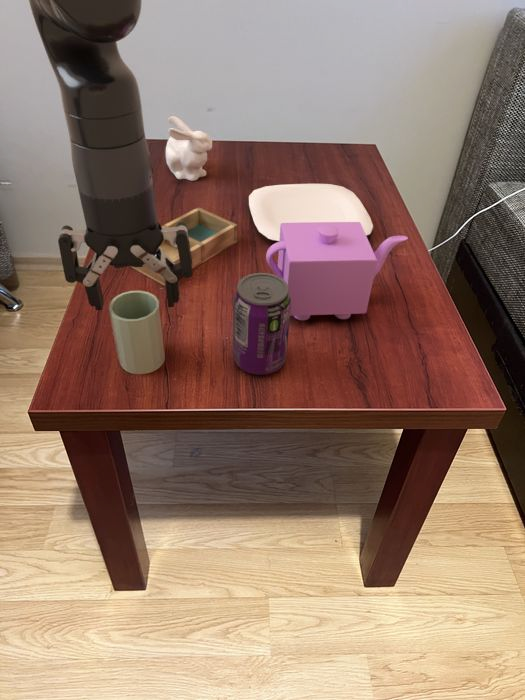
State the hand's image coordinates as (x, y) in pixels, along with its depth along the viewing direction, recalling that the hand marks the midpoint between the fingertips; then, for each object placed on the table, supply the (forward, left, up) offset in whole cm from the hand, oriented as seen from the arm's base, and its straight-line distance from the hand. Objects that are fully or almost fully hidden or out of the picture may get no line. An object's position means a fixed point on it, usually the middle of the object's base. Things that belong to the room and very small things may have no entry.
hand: (136, 304), depth 66 cm
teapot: (+27, -12, -9) cm, 31 cm away
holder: (+22, +14, -9) cm, 28 cm away
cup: (0, 0, -9) cm, 9 cm away
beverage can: (+10, -12, -9) cm, 18 cm away
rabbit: (+44, +34, -9) cm, 56 cm away
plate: (+46, +5, -9) cm, 47 cm away
